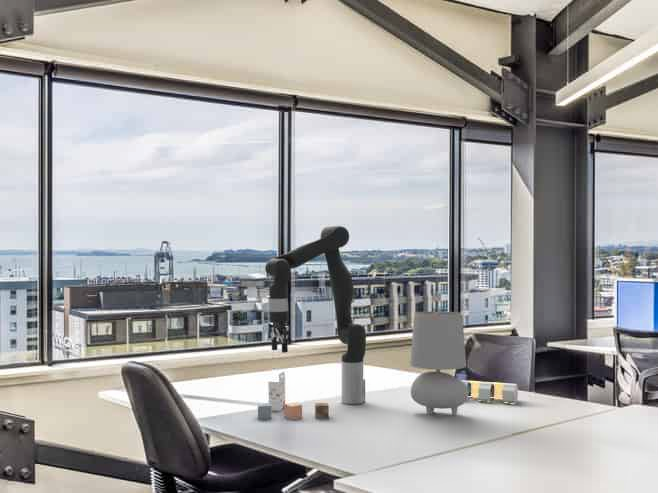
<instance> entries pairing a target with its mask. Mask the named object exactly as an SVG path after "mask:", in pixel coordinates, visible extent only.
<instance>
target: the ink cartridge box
mask: <svg viewBox="0 0 658 493" xmlns="http://www.w3.org/2000/svg"><path fill="white" fill-rule="evenodd" d="M285 374H286V373H285V371H281V372H280V373H279V374H278V377H274V378H272V379H270V380H269V381H268V382H267V383H268V403H271V412H272V411H274V412H275V411H276V412H280V411H282V410H284V404H286V376H285Z"/></svg>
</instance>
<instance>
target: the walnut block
mask: <svg viewBox="0 0 658 493" xmlns="http://www.w3.org/2000/svg"><path fill="white" fill-rule="evenodd" d="M329 410H330V408H329V403H328V402H315V403H314V417H315V420H316V419H321V418H326V419H329V418H330V416H329V412H330V411H329ZM321 420H322V419H321Z"/></svg>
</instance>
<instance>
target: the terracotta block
mask: <svg viewBox="0 0 658 493" xmlns="http://www.w3.org/2000/svg"><path fill="white" fill-rule="evenodd" d="M283 410H284V411H283V412H284V416H283V417H284V418H286V419H288V420H296V419H295V418H297V419H302V418H303V404H301V403H298V402H291V403H285V404H284V408H283Z"/></svg>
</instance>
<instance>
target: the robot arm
mask: <svg viewBox="0 0 658 493" xmlns="http://www.w3.org/2000/svg"><path fill="white" fill-rule="evenodd" d="M349 240H350V233H349V230H348V229H347V228H346V227H344V226H341V225H332V226H331V225H329V226H325V227H323V228H322V230H321V232H320V238H319V239H317V240H314V241H311V242H308V243H305V244H303V245H302V244H301V245H300V246H298V247H296V248H294V249H292V250H290V251H288V252H287V253H284V254H280V255H278V256H275V257H274V258H271V259H269V260H268V261H267V262H266V264H265V268H264V270H265V273H266V274H267V276H270V277H272V278H274V280H273V283H271V284H270V285H269V288H268V290H269V292H268V293H269V303H268V319H269V323H268V325H267V327H268V328H267V329H268V332H267V335H268V339H270V341H271V350H272V351H278V339H280V341H281V353H284V354H285V353H288V350H289V348H288V346H289V345H288V343H289V342H291V341H292V340H291V339H292V338H291V337H292V336H291V326H290V325H286V323H288V322H289V301H288V285H289V281H290V277H291V276H290V275H291V270H292V269H297V268H299V267H301V266H303V265H305V264H307V263H308V262H310V261H312V260H313V259H316V258H317V257H319V256H322V255H324V256H325V261H326V265H327V270H328V274H329V281H330V287H331V292H332V298H333V302H334V309H335V316H336V318H335V319H336V329H337V335H338V339H339V341H340V342H341V343H342V344H343V345H346V346H347V349H346V350H347V351H346V352H345V353H343V354H342V355H341V403H343V404H346V405H358V404H363V403H366V379H365V378H364V358H365V355H366V347H367V346H366V345H367V334H366V329H365V328H364V325H361V324H359V323H353V319H352V312H351V310H352V309H351V308H352V303H353V300H354V296H355V288H354V287H355V286H354V282H353V278H352V275H351V272H350V271H349V269H348V268H347V266H346V265H345V263H344V262H343V259H342V257H341V253H340V248H344V247H345V246H346V245H348V243H349Z"/></svg>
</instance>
